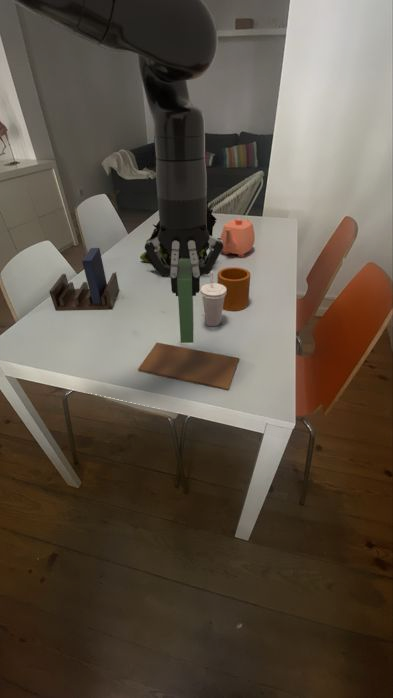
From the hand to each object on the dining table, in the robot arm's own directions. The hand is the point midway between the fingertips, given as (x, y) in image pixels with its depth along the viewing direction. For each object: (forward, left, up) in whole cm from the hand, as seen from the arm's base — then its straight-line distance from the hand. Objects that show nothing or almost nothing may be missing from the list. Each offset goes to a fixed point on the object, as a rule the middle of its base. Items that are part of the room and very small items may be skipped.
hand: (186, 293), depth 59 cm
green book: (0, 0, -8) cm, 8 cm away
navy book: (-26, +30, -17) cm, 43 cm away
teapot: (+17, +65, -18) cm, 70 cm away
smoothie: (+6, +17, -18) cm, 25 cm away
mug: (+13, +28, -18) cm, 36 cm away
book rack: (-30, +30, -18) cm, 46 cm away
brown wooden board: (0, 0, -18) cm, 18 cm away
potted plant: (-5, +53, -18) cm, 56 cm away
